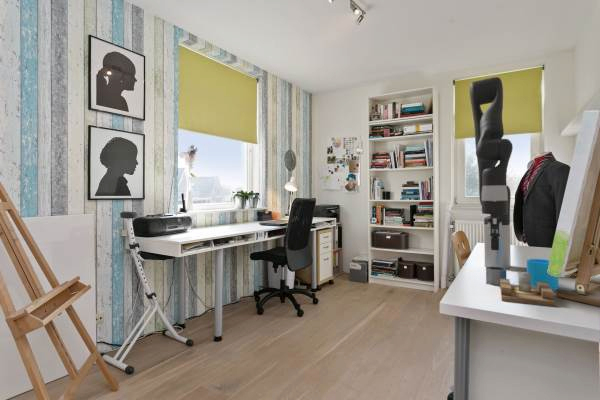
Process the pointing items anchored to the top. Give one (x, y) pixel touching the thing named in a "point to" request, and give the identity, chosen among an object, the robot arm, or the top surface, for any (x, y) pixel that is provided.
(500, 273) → the hub
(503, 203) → the robot arm
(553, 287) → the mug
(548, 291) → the shaft stand
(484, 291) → the top surface
